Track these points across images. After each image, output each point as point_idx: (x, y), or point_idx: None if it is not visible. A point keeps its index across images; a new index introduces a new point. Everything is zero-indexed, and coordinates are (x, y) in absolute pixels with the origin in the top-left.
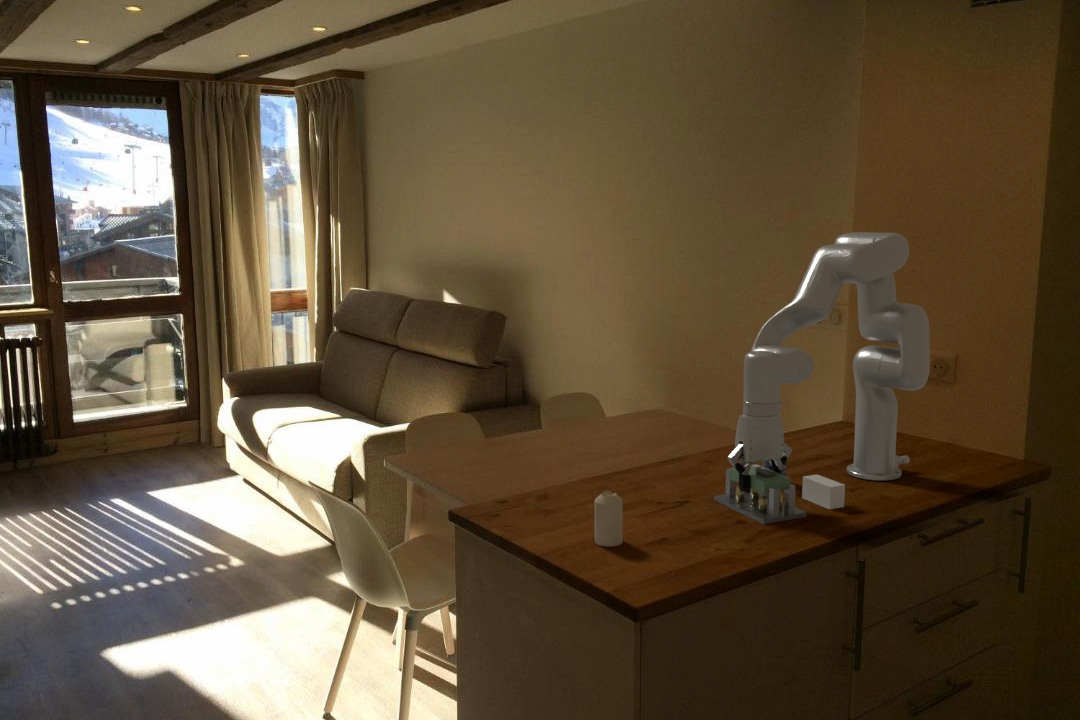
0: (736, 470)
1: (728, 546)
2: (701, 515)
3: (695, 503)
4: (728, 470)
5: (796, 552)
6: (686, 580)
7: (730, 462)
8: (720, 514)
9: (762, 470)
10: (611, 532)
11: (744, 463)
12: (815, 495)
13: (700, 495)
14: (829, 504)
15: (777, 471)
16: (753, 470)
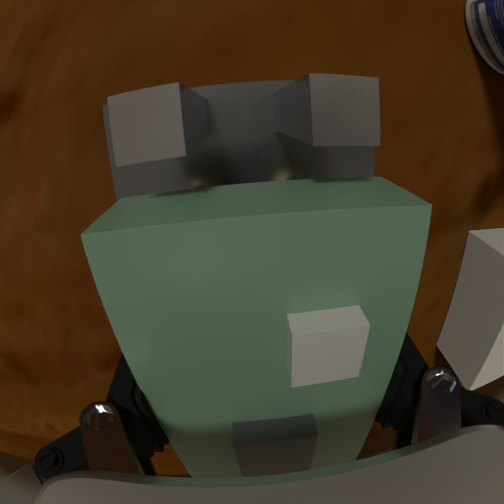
0: (83, 411)
1: (68, 430)
2: (20, 270)
3: (28, 132)
4: (113, 142)
5: (179, 474)
6: (20, 449)
7: (21, 474)
8: (76, 285)
9: (274, 451)
10: None
11: (135, 472)
12: (468, 308)
13: (93, 23)
14: (443, 353)
15: (380, 420)
16: (266, 369)
